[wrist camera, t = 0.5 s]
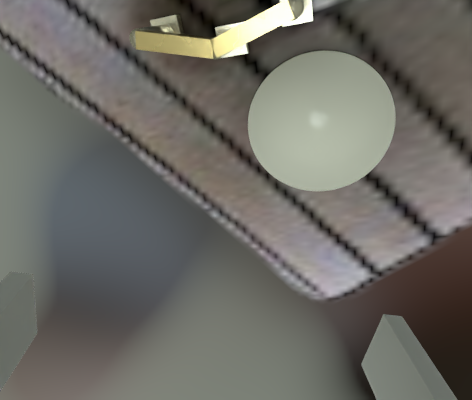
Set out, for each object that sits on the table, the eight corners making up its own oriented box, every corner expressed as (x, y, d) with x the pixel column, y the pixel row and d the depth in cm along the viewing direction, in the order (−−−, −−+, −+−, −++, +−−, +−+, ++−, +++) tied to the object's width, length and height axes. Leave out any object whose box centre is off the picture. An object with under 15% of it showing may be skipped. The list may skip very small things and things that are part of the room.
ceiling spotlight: (154, 19, 30) (115, 24, 24) (310, -14, 27) (308, -18, 21) (166, 66, 32) (132, 81, 26) (314, 40, 29) (313, 51, 23)
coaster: (238, 63, 31) (236, 64, 30) (396, 37, 27) (398, 37, 27) (259, 192, 37) (258, 195, 36) (392, 183, 33) (393, 186, 33)
